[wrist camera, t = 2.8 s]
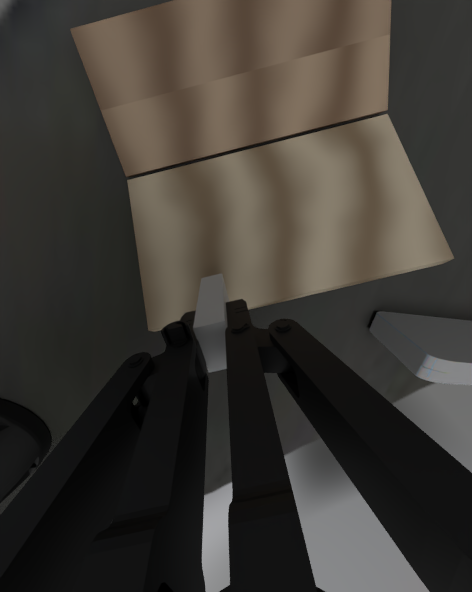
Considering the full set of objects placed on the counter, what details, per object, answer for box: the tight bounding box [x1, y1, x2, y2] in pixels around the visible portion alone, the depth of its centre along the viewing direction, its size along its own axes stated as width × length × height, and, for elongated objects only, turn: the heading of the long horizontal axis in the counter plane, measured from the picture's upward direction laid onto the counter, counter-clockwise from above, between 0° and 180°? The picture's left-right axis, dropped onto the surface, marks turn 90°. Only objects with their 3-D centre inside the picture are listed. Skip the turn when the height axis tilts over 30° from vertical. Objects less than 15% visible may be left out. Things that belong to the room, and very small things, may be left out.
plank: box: [127, 114, 454, 332], centre depth 21 cm, size 24×14×1 cm
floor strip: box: [70, 0, 391, 177], centre depth 20 cm, size 24×10×1 cm, turn 103°
